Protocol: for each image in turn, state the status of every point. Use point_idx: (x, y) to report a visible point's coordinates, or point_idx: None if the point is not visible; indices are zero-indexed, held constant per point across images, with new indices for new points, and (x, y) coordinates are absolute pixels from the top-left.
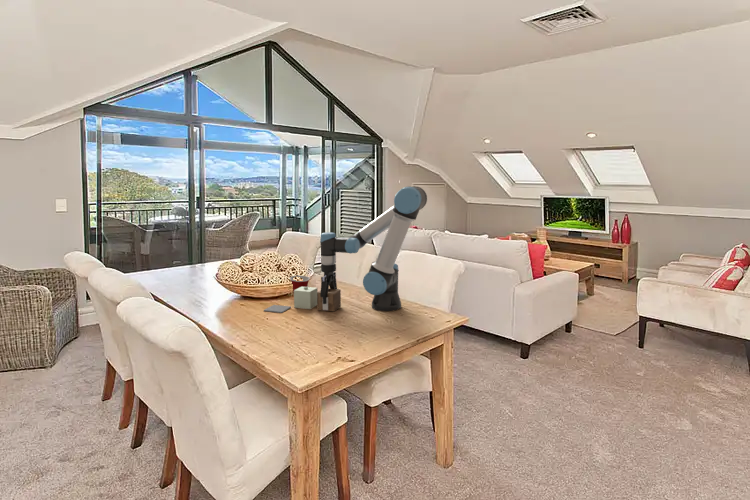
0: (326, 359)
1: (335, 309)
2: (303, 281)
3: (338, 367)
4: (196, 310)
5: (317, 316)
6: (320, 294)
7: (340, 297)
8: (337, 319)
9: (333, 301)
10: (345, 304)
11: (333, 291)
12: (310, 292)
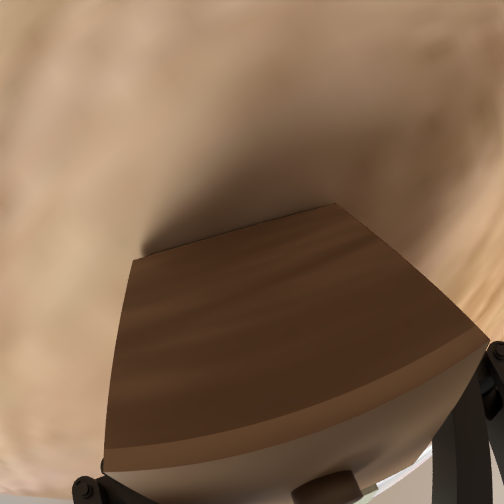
0: None
1: (304, 217)
2: None
3: None
4: (406, 470)
5: (457, 242)
6: (495, 394)
7: (123, 339)
8: (473, 72)
9: (403, 266)
10: (30, 281)
11: (341, 452)
12: (370, 486)
